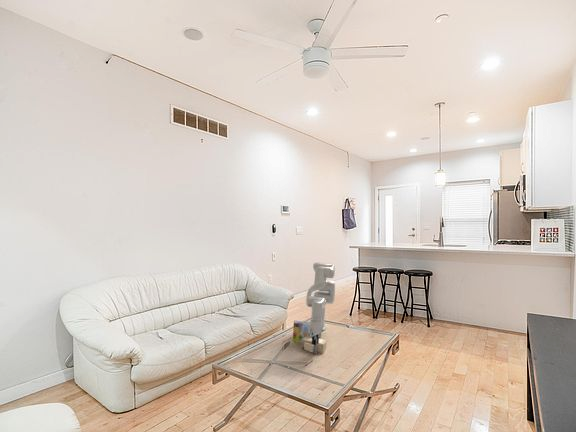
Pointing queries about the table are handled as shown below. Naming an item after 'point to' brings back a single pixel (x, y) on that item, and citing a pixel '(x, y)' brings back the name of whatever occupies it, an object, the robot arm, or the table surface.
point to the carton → (320, 346)
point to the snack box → (301, 330)
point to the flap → (310, 347)
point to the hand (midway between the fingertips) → (315, 343)
